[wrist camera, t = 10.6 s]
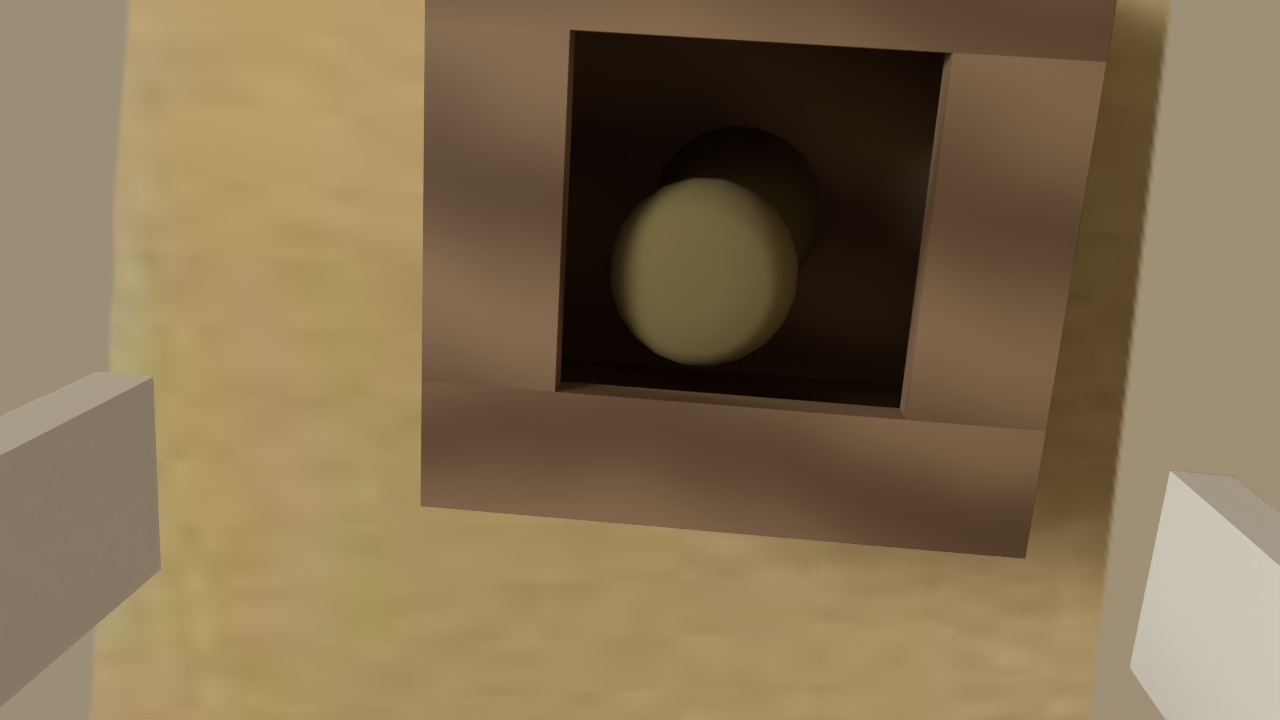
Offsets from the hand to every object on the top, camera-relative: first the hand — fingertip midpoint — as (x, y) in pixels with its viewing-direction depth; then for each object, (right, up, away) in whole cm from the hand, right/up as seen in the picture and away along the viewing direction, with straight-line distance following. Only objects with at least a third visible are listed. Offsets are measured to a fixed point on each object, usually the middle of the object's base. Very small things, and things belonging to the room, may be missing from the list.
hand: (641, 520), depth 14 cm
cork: (+3, +7, +25) cm, 26 cm away
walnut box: (+4, +9, +25) cm, 27 cm away
